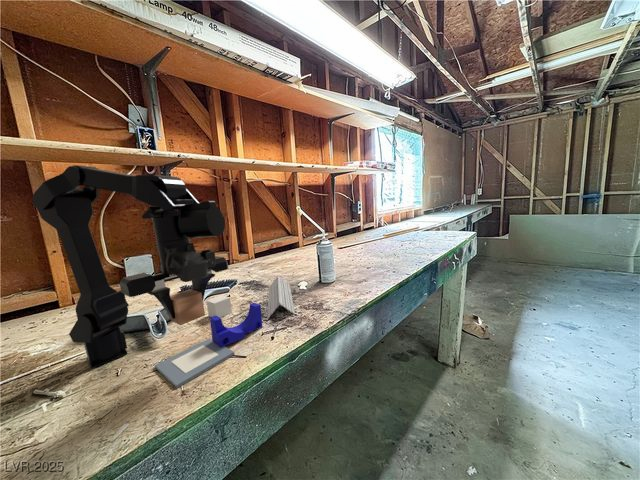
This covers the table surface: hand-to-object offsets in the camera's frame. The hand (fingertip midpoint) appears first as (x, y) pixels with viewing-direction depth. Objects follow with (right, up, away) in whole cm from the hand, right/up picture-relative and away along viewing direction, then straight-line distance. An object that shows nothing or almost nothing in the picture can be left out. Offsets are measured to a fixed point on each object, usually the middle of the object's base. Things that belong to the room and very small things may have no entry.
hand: (187, 312), depth 53 cm
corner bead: (+14, -6, +33) cm, 37 cm away
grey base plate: (+1, -11, +2) cm, 11 cm away
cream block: (-3, -8, +25) cm, 26 cm away
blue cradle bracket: (+8, -9, +10) cm, 16 cm away
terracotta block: (0, -1, 0) cm, 1 cm away
